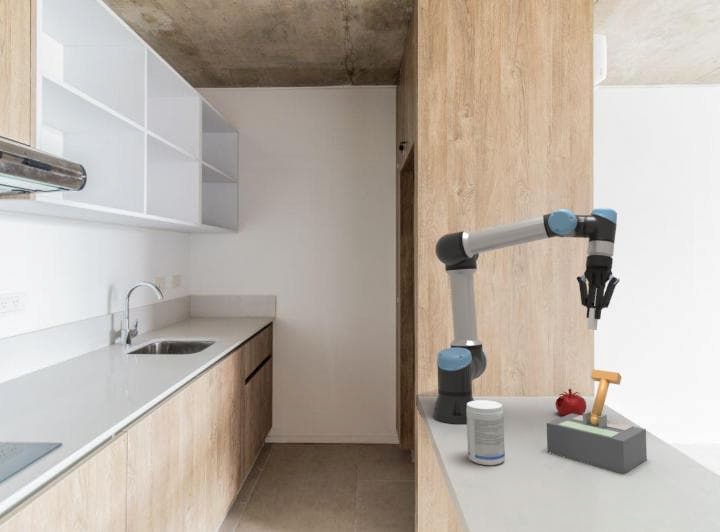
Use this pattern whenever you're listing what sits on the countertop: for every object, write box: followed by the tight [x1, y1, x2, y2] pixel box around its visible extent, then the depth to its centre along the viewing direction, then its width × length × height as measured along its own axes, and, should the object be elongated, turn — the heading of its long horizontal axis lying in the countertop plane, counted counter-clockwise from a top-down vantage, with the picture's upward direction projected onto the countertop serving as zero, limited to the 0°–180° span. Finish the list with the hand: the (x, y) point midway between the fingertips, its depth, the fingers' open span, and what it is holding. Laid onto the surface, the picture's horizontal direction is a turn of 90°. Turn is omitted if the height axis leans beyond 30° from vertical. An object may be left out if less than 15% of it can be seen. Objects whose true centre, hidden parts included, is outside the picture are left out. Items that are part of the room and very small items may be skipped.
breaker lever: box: [590, 369, 622, 425], centre depth 131 cm, size 7×2×16 cm
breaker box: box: [546, 410, 648, 475], centre depth 129 cm, size 20×14×11 cm
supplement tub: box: [466, 399, 506, 466], centre depth 127 cm, size 10×10×15 cm
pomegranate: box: [555, 388, 587, 417], centre depth 167 cm, size 10×10×9 cm
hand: (592, 329), depth 151 cm, fingers closed
